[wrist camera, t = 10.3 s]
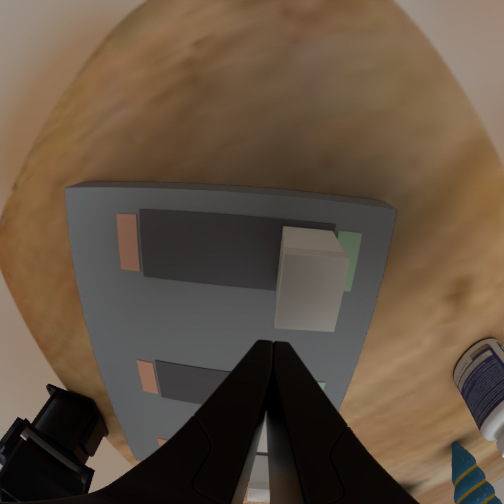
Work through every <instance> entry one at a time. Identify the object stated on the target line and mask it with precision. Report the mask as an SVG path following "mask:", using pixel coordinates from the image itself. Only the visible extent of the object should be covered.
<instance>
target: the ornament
mask: <svg viewBox="0 0 504 504" xmlns="http://www.w3.org/2000/svg"><path fill="white" fill-rule="evenodd" d="M452 482H453V484H454V486H455V492H454V501H455V503H456V504H502V503H501V501H500V500H499V499H498V498H497V497H496V496H495V491H494V488H493V486H492V485H491V484H490V483H488V482H487V481H486V480H485V474H484V472H483V471H482V470H481V469H480V468H479V467H478V466H477V465H476V460H475V458H474V457H473V456H472V455H471V454H470V453H469V452H468V451H467V450H466V449H464V448H463V447H462V446H461V445H460V444H459V443H458V442H455V443H453V445H452Z"/></svg>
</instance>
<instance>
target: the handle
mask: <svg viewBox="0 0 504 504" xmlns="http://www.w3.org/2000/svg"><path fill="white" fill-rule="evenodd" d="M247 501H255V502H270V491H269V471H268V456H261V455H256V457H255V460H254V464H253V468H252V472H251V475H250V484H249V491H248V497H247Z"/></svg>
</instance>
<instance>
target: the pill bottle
mask: <svg viewBox="0 0 504 504" xmlns="http://www.w3.org/2000/svg"><path fill="white" fill-rule="evenodd" d="M454 381H455V384H456V385H457V388H458V389H459V391H460V393H461V395H462V397H463V399H464V400H465V402H466V404H467V406H468V408H469V410H470V412H471V414H472V416H473V418H474V420H475V422H476V424H477V426H478V428H479V430H480V433H481V434H482V436H483V437H484V438H485V439H486V440H489V441H493V440H498V441H497V448H498V450H499V452H500V454H501V455H502V457H503V458H504V347H503V346H502V345H501V344H500V342H499V341H497V340H496V339H486V340H483V341H481V342H479V343H477V344H475V345H474V346H473V347H471V348H470V349H469V350H468V351H467V352H466V353H465V354H464V355H463V357H462V358H461V360H460V361H459V363H458V364H457V366H456V368H455V372H454Z"/></svg>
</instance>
